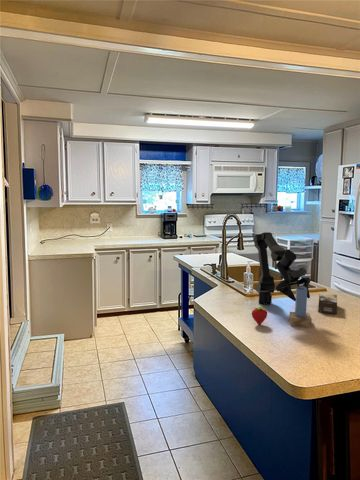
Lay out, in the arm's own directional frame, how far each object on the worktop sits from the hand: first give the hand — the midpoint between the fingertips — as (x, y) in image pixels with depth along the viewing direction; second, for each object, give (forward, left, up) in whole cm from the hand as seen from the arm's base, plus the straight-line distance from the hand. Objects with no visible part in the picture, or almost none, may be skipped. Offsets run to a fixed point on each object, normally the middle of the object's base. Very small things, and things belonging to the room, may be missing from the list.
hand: (302, 299), depth 172 cm
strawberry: (-20, -5, -12) cm, 24 cm away
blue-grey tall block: (-1, +1, -8) cm, 8 cm away
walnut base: (-1, +1, -12) cm, 12 cm away
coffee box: (+18, +35, -9) cm, 40 cm away
